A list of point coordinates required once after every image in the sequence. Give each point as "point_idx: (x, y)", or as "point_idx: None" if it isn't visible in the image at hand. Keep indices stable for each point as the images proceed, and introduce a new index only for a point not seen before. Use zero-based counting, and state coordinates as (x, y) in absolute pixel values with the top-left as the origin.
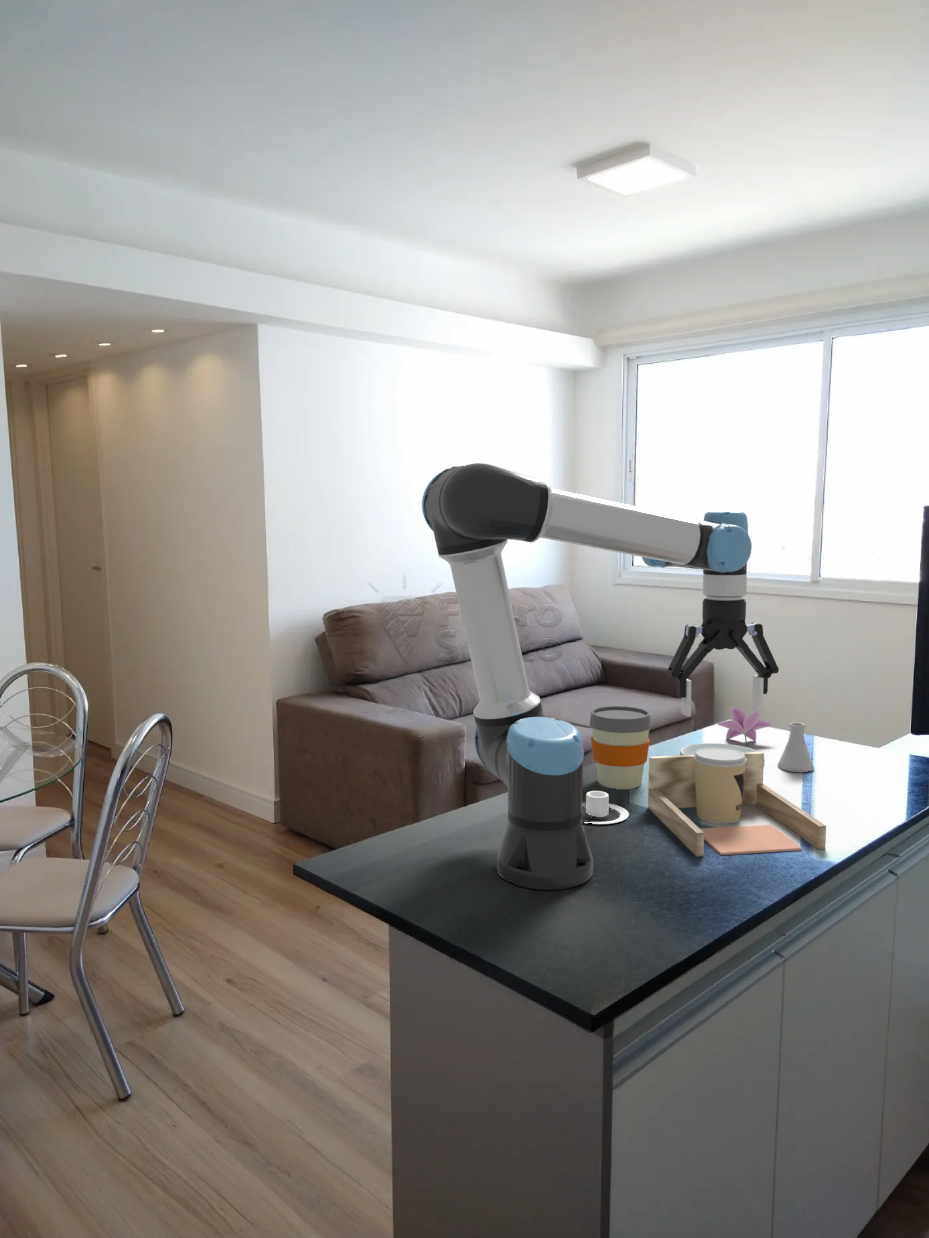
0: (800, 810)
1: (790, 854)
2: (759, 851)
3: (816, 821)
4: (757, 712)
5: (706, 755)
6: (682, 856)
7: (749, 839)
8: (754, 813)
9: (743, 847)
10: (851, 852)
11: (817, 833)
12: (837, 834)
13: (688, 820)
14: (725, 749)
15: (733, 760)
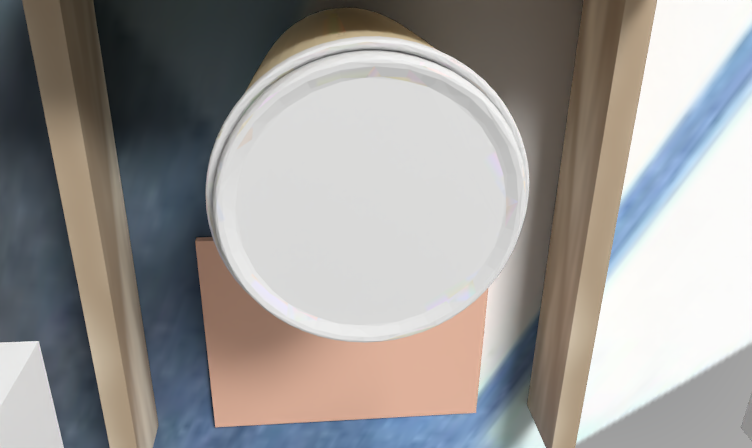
0: (586, 330)
1: (426, 428)
2: (341, 417)
3: (569, 423)
4: (747, 408)
5: (276, 223)
6: (90, 422)
7: (350, 345)
8: (513, 81)
9: (302, 398)
10: (602, 426)
11: (543, 428)
12: (664, 308)
13: (116, 387)
14: (462, 107)
15: (392, 339)
